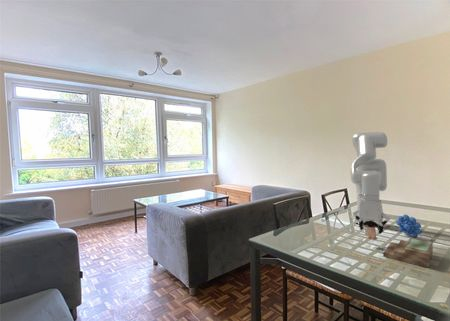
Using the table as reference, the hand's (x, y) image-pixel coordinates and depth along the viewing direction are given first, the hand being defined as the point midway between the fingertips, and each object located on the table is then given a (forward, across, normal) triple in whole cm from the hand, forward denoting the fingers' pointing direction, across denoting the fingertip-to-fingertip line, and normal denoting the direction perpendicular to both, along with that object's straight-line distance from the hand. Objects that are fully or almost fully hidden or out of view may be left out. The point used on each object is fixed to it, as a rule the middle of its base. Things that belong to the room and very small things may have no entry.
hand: (370, 230), depth 121 cm
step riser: (+8, +15, -1) cm, 17 cm away
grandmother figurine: (+4, 0, 0) cm, 4 cm away
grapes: (+9, +11, +27) cm, 31 cm away
